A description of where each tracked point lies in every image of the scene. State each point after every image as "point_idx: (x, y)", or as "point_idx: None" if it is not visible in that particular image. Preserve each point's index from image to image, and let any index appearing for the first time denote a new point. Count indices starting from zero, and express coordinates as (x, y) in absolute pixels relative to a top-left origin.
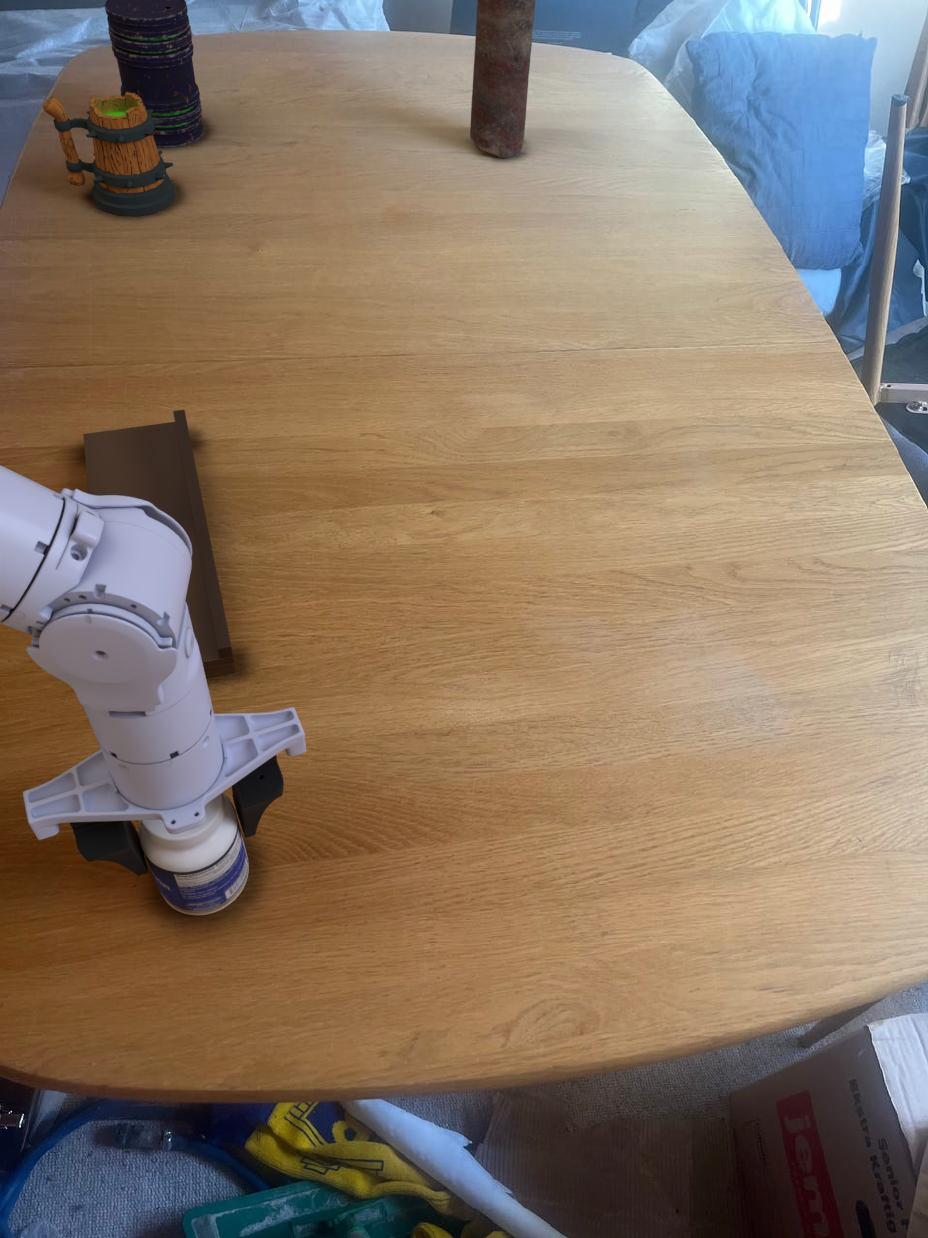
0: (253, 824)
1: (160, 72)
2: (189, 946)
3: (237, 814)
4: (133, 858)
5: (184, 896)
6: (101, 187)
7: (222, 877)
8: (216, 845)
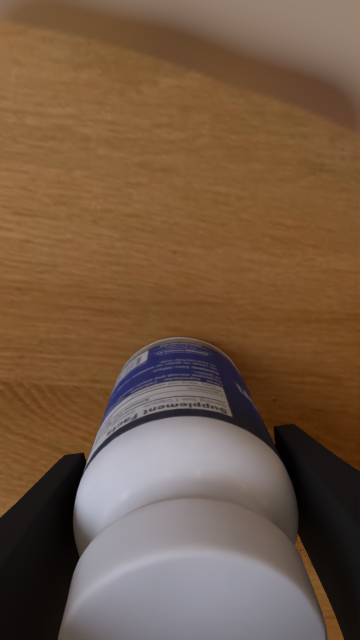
0: (32, 497)
1: None
2: (213, 297)
3: None
4: (340, 491)
5: (212, 367)
6: None
7: (138, 386)
8: (119, 472)
